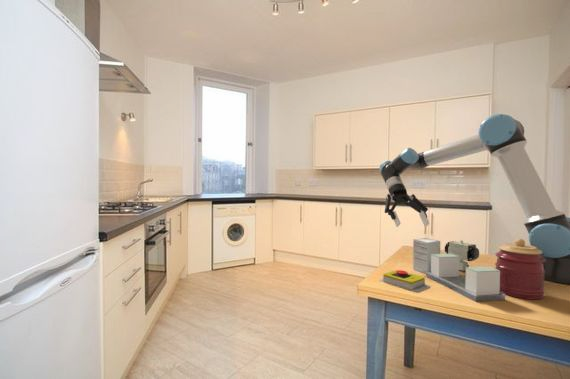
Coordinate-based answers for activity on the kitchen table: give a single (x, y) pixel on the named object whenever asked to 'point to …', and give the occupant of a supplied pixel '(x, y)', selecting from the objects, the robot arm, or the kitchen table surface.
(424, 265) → the grey ridged module
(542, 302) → the kitchen table surface
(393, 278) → the emergency button
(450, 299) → the kitchen table surface
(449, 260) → the grey module pair
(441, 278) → the mounting rail
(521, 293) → the canister
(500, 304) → the kitchen table surface
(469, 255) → the pneumatic valve
